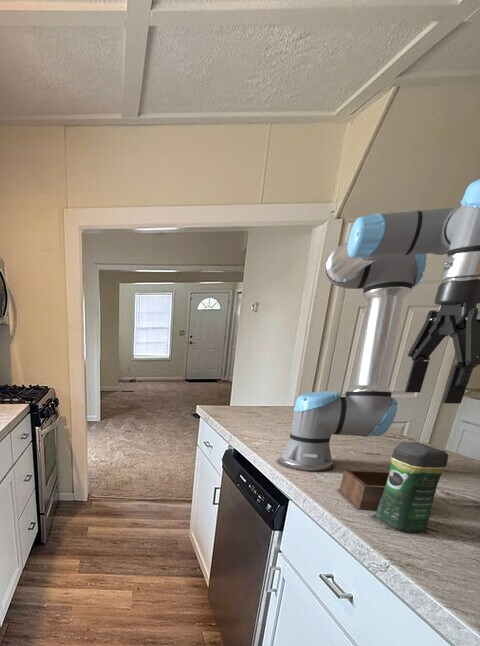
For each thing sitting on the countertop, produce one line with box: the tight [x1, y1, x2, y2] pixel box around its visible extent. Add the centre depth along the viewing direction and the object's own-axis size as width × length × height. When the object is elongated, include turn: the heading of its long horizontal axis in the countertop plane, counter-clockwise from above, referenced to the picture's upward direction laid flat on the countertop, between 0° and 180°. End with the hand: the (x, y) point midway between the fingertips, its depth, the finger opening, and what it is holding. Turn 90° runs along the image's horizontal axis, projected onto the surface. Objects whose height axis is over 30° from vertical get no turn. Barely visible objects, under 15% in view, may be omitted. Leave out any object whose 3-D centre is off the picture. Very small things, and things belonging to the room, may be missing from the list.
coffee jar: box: [375, 441, 449, 533], centre depth 88 cm, size 10×8×19 cm
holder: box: [339, 469, 390, 511], centre depth 103 cm, size 13×15×6 cm
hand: (430, 397), depth 82 cm, fingers open, 13 cm apart
